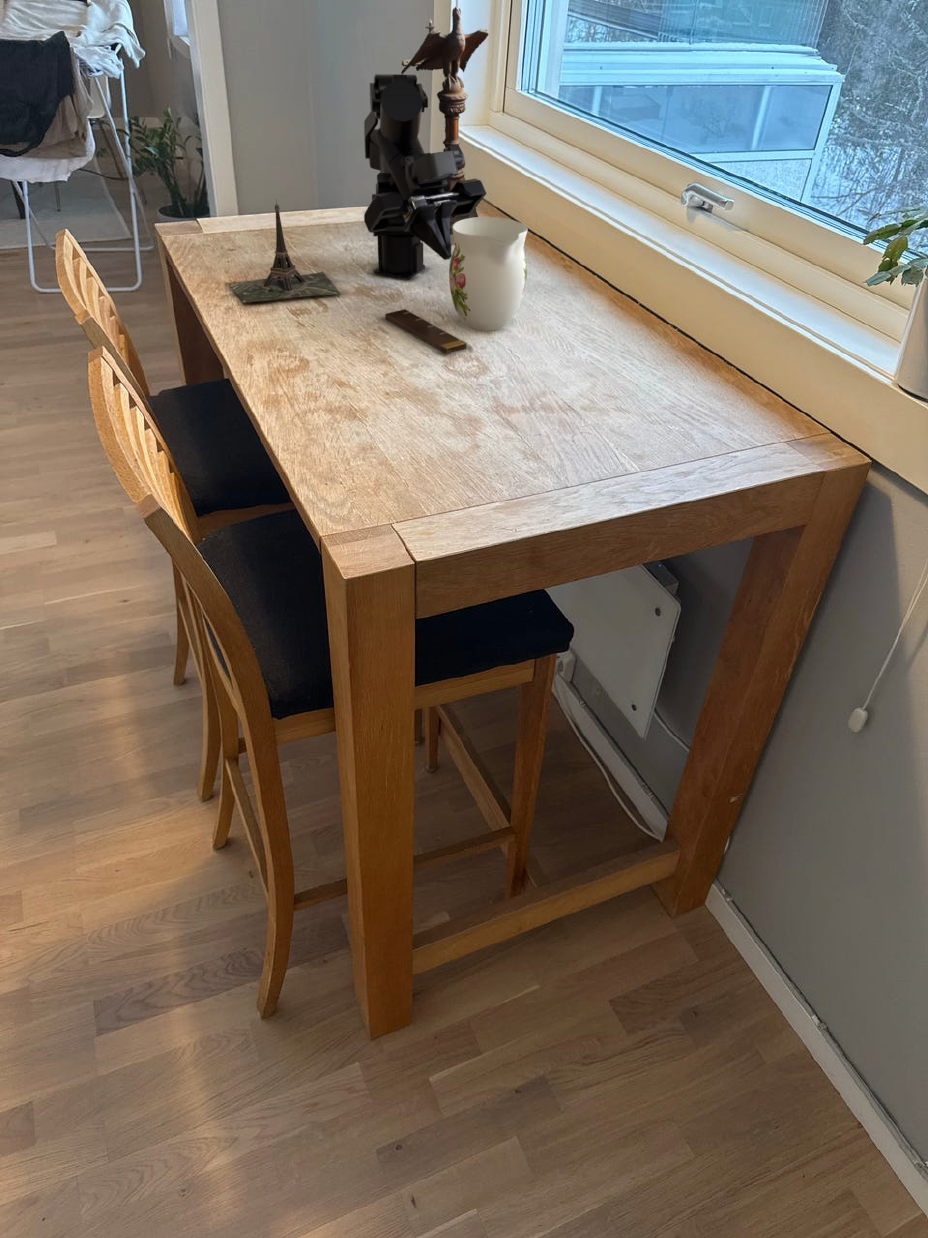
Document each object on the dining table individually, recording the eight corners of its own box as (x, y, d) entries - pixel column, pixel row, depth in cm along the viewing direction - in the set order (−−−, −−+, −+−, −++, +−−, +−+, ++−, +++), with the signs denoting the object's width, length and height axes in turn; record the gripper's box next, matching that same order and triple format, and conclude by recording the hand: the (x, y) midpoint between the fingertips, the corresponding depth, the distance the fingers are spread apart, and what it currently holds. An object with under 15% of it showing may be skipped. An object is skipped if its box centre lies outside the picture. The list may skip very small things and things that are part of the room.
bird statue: (390, 221, 167) (385, -6, 145) (453, 215, 172) (458, -7, 149) (424, 248, 156) (424, 5, 134) (491, 240, 160) (502, 4, 138)
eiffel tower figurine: (242, 307, 132) (230, 211, 124) (229, 284, 140) (216, 192, 131) (340, 296, 137) (335, 203, 128) (322, 274, 144) (316, 185, 136)
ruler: (385, 319, 130) (384, 312, 130) (404, 314, 132) (404, 308, 132) (445, 354, 121) (446, 347, 121) (466, 348, 123) (466, 342, 123)
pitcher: (496, 294, 139) (501, 200, 131) (541, 338, 126) (550, 237, 118) (429, 301, 136) (429, 205, 128) (468, 347, 123) (472, 243, 115)
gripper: (371, 131, 120) (417, 238, 121) (481, 117, 129) (524, 217, 129) (344, 180, 130) (387, 280, 131) (449, 165, 139) (488, 258, 139)
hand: (448, 258), depth 132 cm, fingers closed
